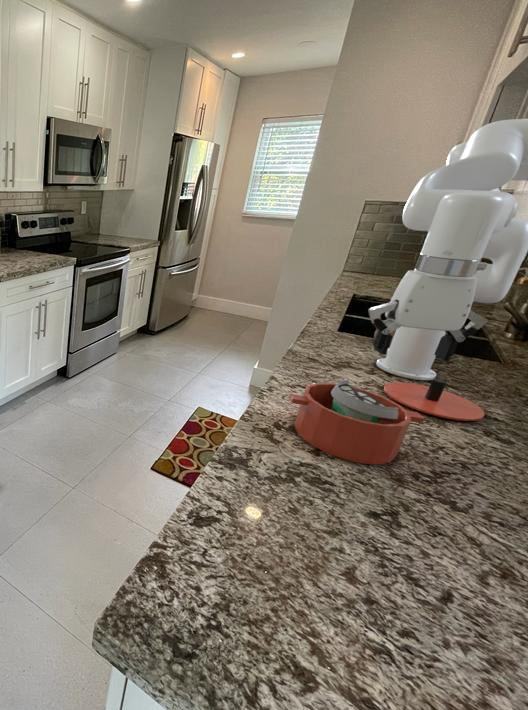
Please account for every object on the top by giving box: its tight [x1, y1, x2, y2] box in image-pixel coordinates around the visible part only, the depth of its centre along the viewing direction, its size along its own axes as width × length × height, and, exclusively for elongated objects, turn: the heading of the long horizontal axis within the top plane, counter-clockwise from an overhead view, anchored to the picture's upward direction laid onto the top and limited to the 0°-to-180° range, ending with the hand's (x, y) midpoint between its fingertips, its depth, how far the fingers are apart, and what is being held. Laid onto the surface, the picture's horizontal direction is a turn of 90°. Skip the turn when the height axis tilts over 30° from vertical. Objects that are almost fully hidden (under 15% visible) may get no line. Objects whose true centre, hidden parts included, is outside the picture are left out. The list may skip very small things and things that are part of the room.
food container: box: [331, 379, 399, 424], centre depth 82 cm, size 12×6×10 cm, turn 3°
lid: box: [383, 377, 485, 422], centre depth 98 cm, size 18×18×6 cm
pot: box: [288, 382, 425, 465], centre depth 83 cm, size 17×22×8 cm
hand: (409, 354), depth 78 cm, fingers open, 9 cm apart
